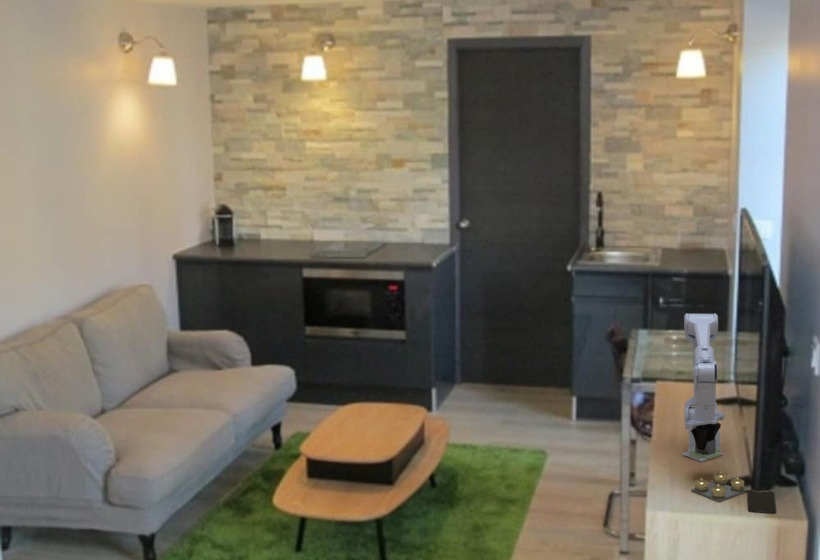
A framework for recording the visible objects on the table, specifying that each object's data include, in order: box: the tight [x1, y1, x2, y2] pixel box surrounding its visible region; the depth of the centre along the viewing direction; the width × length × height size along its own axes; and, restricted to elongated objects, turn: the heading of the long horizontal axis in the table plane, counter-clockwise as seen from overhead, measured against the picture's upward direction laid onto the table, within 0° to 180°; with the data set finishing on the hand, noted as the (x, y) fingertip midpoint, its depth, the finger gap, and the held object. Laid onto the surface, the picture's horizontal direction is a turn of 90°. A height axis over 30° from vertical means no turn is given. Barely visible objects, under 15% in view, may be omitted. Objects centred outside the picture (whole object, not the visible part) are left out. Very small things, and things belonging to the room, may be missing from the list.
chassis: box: [690, 470, 749, 503], centre depth 309 cm, size 12×10×4 cm
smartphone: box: [746, 489, 777, 515], centre depth 301 cm, size 7×1×15 cm
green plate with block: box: [690, 437, 722, 461], centre depth 318 cm, size 9×7×5 cm
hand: (704, 448), depth 319 cm, fingers closed on green plate with block, 3 cm apart
